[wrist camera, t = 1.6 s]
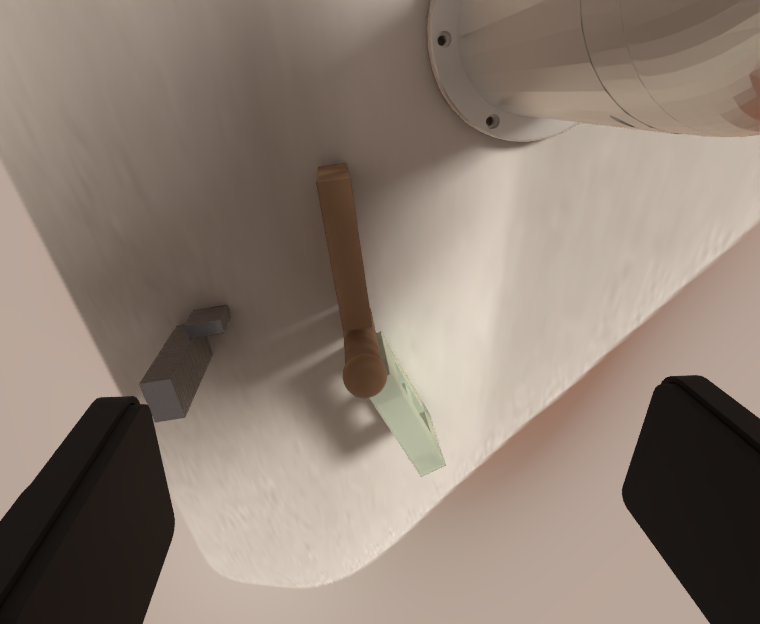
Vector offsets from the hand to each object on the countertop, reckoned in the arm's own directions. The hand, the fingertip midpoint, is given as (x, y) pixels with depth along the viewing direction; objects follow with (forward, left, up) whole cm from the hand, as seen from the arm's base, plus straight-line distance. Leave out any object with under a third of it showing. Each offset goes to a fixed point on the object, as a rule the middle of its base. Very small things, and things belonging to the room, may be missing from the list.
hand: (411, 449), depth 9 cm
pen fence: (+1, +4, -25) cm, 25 cm away
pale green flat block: (-1, +15, -24) cm, 28 cm away
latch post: (+12, +8, -25) cm, 29 cm away
